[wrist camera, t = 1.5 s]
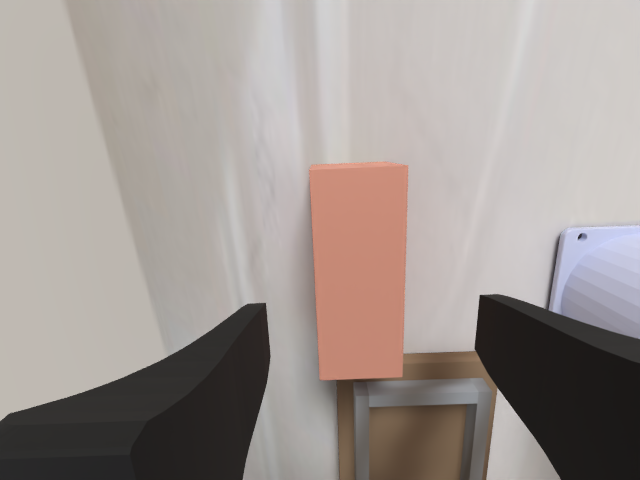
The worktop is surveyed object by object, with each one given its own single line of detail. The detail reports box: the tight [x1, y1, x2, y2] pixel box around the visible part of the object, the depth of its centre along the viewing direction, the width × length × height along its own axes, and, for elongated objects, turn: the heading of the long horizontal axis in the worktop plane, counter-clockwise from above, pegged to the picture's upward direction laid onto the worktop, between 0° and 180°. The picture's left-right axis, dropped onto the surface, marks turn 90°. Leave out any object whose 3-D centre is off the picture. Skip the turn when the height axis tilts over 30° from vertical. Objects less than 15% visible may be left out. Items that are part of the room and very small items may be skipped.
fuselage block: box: [309, 162, 408, 380], centre depth 17 cm, size 4×10×5 cm, turn 2°
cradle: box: [337, 351, 497, 480], centre depth 22 cm, size 10×16×2 cm, turn 2°
